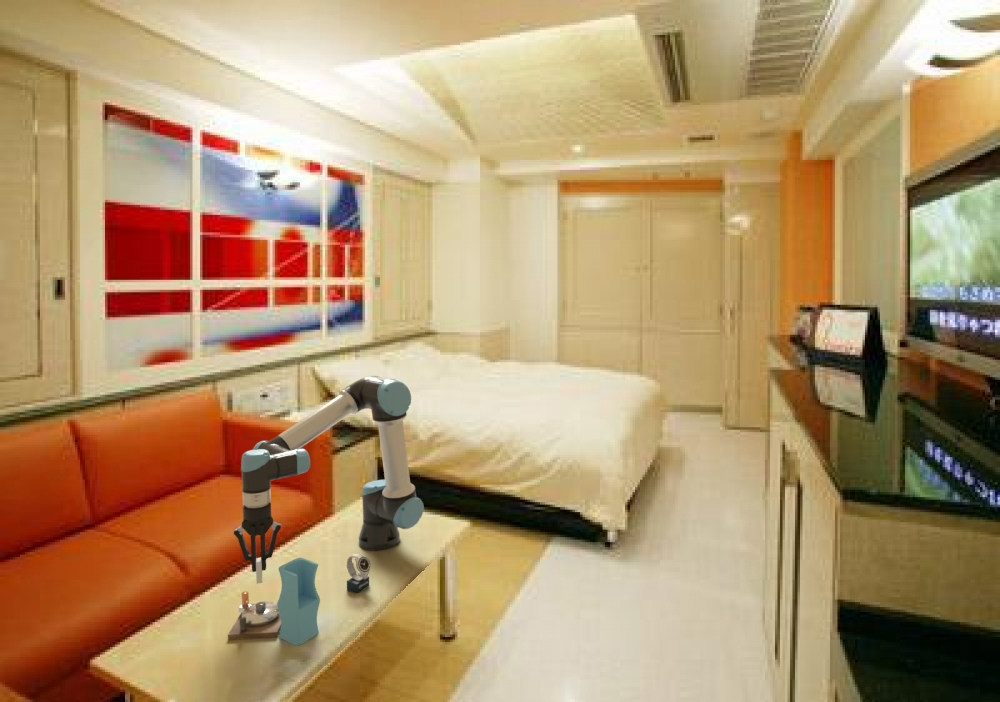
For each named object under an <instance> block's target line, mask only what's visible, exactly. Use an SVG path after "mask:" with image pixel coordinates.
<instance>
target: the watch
mask: <svg viewBox="0 0 1000 702" xmlns="http://www.w3.org/2000/svg"><path fill="white" fill-rule="evenodd" d="M353 558H354V560H355V566H354V562H353ZM371 565H372V564H371V560H370V559H369V558H368V557H367V556H365V555H364V554H361V553H358V552H357V553H354V554H352V555H350V556H349V557H348V558H347V561H346V568H347V572H348V574H349V576H350V578H349V579H347V580H346V590H347V591H349V592H352V593H353V594H356V595H357V594H359V593H361V592H362V591H364V590H366V589H367V588H368V587H370V576H369V574H370V570H371ZM355 567H356V568H355ZM357 572H359V573H357Z"/></svg>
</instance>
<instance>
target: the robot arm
mask: <svg viewBox="0 0 1000 702" xmlns="http://www.w3.org/2000/svg"><path fill="white" fill-rule="evenodd" d="M411 393H412V392H411V391H410V389H409V387H408V385H406V384H405V383H404V382H402V381H399V380H397V379H395V378H386V377H382V376H377V375H370V376H369V375H368V376H365V377H363V378H360V379H357V380H356V381H354V382H353V383H350V384H349V385H347V386H345V387H344V388H342V389H341V390H340V391H339V392H338V395H337V396H336V397H334V398H333V399H331V400H330V401H328V402H327V403H325V404H323V405H322V406H320V407H319V408H317V409H316V410H314V411H313V412H311V413H310V414H308V415H307V416H305V417H303V419H301V420H299V421H298V422H296V423H295V424H293V425H291V426H290V427H289V428H287V429H286V430H284V431H283V432H281V433H280V434H278V435H277V436H275V437H274V438H272V439H270V440H261V441H259V442H257V443H256V444H255V446H254V447H253V449H250V450H247V451H245V452H244V453H243V454H242V455H241V460H240V461H241V463H240V464H241V466H240V471H241V483H242V485H241V486H242V488H241V489H242V505H243V506H242V522H241V525H239V526H238V527H235V528H234V530H233V535H234V536H235V537H236V539H237V540H238V544H239V547H240V549H241V552H242V556H243V558H244V562H248V561H249V562H250V563H251V571H252V573H255V572H256V573H255V575H256V576H255V577H256V584H262V583H263V571H266V570H267V559H269V558H272V557H273V554H274V549H275V546H276V542H277V541H276V540H277V536H278V533H279V532H280V530H281V529H282V523H281V522H276V521H274V518H273V516H272V503H271V500H272V493H271V482H272V481H275V480H280V479H285V478H291V477H294V476H298V475H301V474H305V473H307V472H308V471H309V469H310V468H311V458H310V454H309V452H308V451H307V449H305V448H303V447H305V446H306V445H307V444H308V443H309V444H310V442H311V441H313V440H315V439H317V438H318V437H319V436H321V434H323V433H324V432H326V431H327V430H330V429H331V428H332V427H333V426H335V425H336V424H338V423H339V422H340V421H342V420H344V419H345V418H347V417H348V416H349V415H351V414H352V415H356V414H357V413H359V412H360V411H363V410H367V409H370V410H371V414H372V421H373V422H375V423H377V427H378V435H379V441H380V442H379V443H380V449H381V450H380V453H381V457H382V458H381V459H382V465H383V472H384V473H383V475H384V479H378V480H372V481H369V482H367V483H365V484H364V485H363V486H362V492H361V493H362V494H361V496H362V520H363V521H362V525H361V527H360V532H359V534H358V535H359V536H358V545H359V547H361V548H362V549H364V550H369V551H382V550H387V549H390V548H393V547H395V546H396V545H397V544H399V542H400V541H401V536H400V535H401V534H400V531H399V529H403V530H408V529H411V528H413V527H415V526H416V525H417V524H418V523H419V521H420V519H421V518H422V516H423V514H424V508H425V507H424V502H423V501H422V499H421V498H419V497H418V496H417V493H416V486H415V485H414V484H413V483H411V479H410V470H409V461H408V455H407V454H408V453H407V446H406V445H407V444H406V437H405V435H406V434H405V427H404V419H405V418H406V417H407V411H408V410H409V408H410V406H411V403H412V395H411ZM270 528H271V530H272V533H271V538H270V542H269V547H268V551H267V549H266V547H267V546H266V533H268V531H269V530H270ZM398 528H399V529H398ZM244 531H245V532H246V533H247V534H248V535H249V536H250V551H251V554H250V551H249V549H248V546H247V543H246V540H245V536H244ZM257 536H260V557H257Z"/></svg>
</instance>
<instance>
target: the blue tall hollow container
mask: <svg viewBox="0 0 1000 702" xmlns="http://www.w3.org/2000/svg"><path fill="white" fill-rule="evenodd" d="M318 567H319V563H317V562H314V561H311V560H309V559H306V558H304V557H296V558H294V559H293V560H290V561H288V562H286V563H284V564H282V565H281V566H279V567H278V572H279V576H280V581H281V591H280V595H279V598H278V601H277V602H276V603H277V607H278V610H279V613H280V617H281V630H280V632H279V635H278V638H280V639H282V640H283V641H285V642H287V643H289V644H291V645H294V646H300V645H303V644H304V643H306V642H308V641H309V640H310V639H313V638H314V637H315V636H317V635H318V634H319V633H320V632H319V626H318V613H319V606H320V603H321V598H320V595H319V594H318V591H317V588H316V575H317V570H318Z"/></svg>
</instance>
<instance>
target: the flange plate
mask: <svg viewBox="0 0 1000 702" xmlns="http://www.w3.org/2000/svg"><path fill="white" fill-rule="evenodd" d="M249 597H250V595H249V591H242V592H241V604H240V605H239V606H238V607H237V608H238V613H240V614H241V613H242V617H246V625H247V626H261V625H265V624H268V623H270V622H272V621H274V620H275V619H276V618H277V617H278V616H279V614H280V613H279V610H278V607H277V603H278V602H275V601H259V602H255V603H250V600H249V599H250V598H249ZM251 604H253V605H251Z"/></svg>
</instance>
